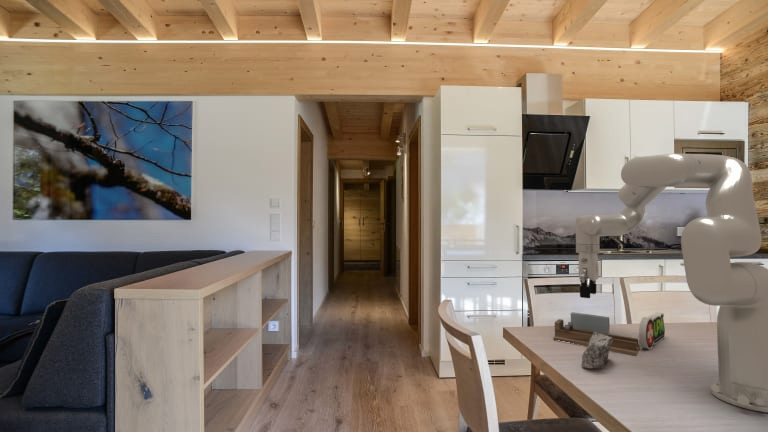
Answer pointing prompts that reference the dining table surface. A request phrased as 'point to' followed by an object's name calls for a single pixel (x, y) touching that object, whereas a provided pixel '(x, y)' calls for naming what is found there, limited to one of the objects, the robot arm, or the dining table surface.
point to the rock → (596, 351)
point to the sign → (651, 330)
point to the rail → (583, 336)
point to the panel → (590, 322)
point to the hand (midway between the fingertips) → (588, 295)
